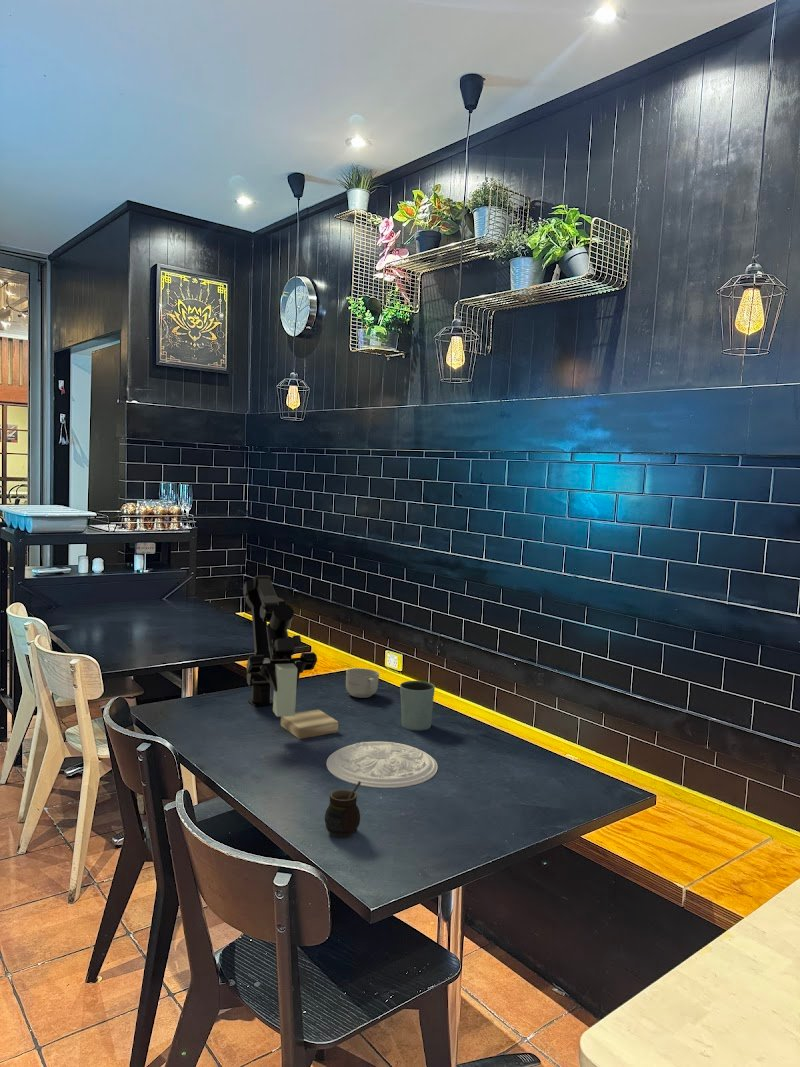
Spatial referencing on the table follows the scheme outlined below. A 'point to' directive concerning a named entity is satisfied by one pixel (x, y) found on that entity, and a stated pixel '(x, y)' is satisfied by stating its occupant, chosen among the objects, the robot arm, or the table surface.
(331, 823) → the mate gourd
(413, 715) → the grey-green cup
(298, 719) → the maple base
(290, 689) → the sage pillar
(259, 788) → the table surface
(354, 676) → the teacup
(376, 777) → the ceiling medallion
